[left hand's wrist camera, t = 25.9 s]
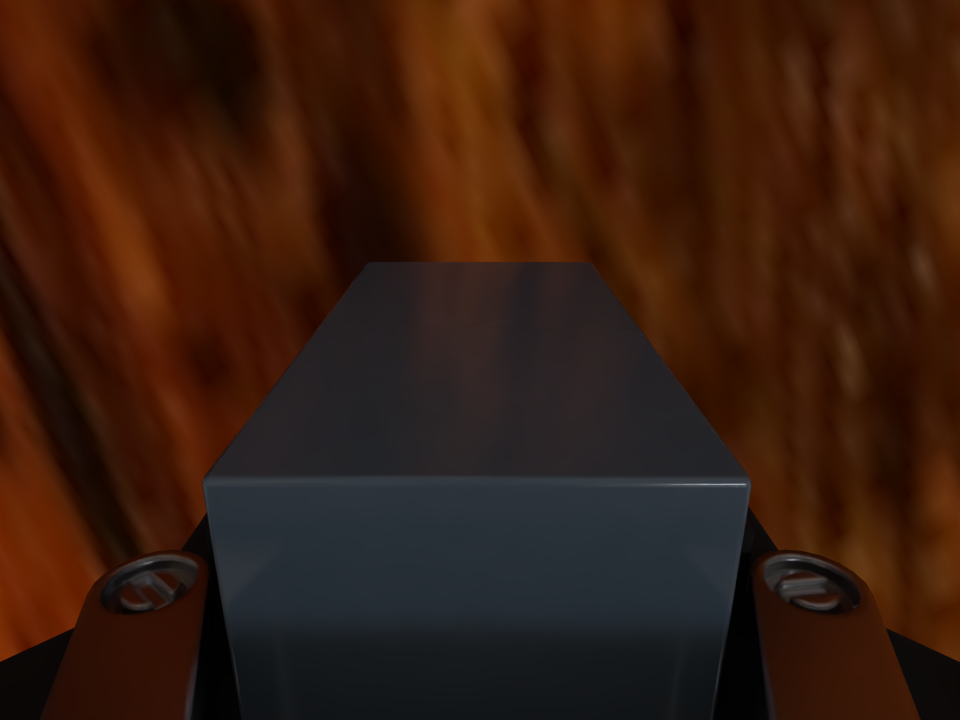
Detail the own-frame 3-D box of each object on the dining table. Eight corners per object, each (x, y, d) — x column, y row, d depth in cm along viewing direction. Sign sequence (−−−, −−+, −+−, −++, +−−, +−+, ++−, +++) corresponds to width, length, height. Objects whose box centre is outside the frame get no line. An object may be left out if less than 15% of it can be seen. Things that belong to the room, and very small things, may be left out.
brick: (381, 512, 17) (273, 940, 8) (366, 261, 15) (197, 478, 6) (577, 511, 17) (681, 941, 8) (591, 261, 15) (756, 479, 6)
